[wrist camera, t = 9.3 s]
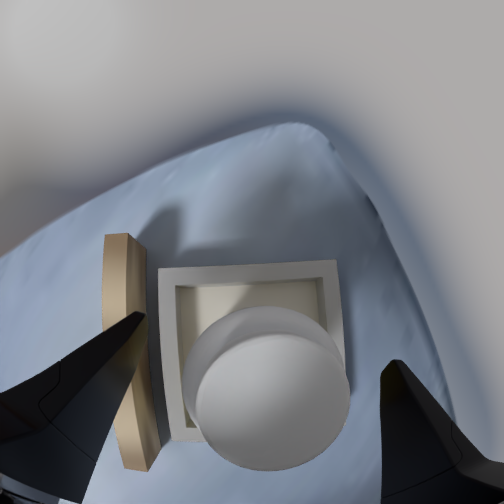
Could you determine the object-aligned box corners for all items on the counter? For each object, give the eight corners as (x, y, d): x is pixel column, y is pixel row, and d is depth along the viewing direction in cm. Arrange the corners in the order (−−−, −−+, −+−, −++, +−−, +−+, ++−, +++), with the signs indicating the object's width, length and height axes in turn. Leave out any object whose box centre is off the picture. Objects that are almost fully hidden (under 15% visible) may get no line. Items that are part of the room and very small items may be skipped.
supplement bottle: (253, 292, 17) (281, 251, 7) (314, 355, 16) (412, 391, 6) (186, 353, 15) (119, 397, 5) (249, 415, 15) (269, 518, 5)
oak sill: (161, 448, 14) (147, 472, 10) (141, 446, 14) (124, 468, 10) (146, 249, 17) (127, 232, 14) (126, 250, 17) (105, 234, 14)
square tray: (334, 415, 15) (345, 425, 13) (178, 429, 14) (171, 440, 12) (325, 265, 18) (336, 259, 16) (166, 274, 17) (158, 268, 15)
